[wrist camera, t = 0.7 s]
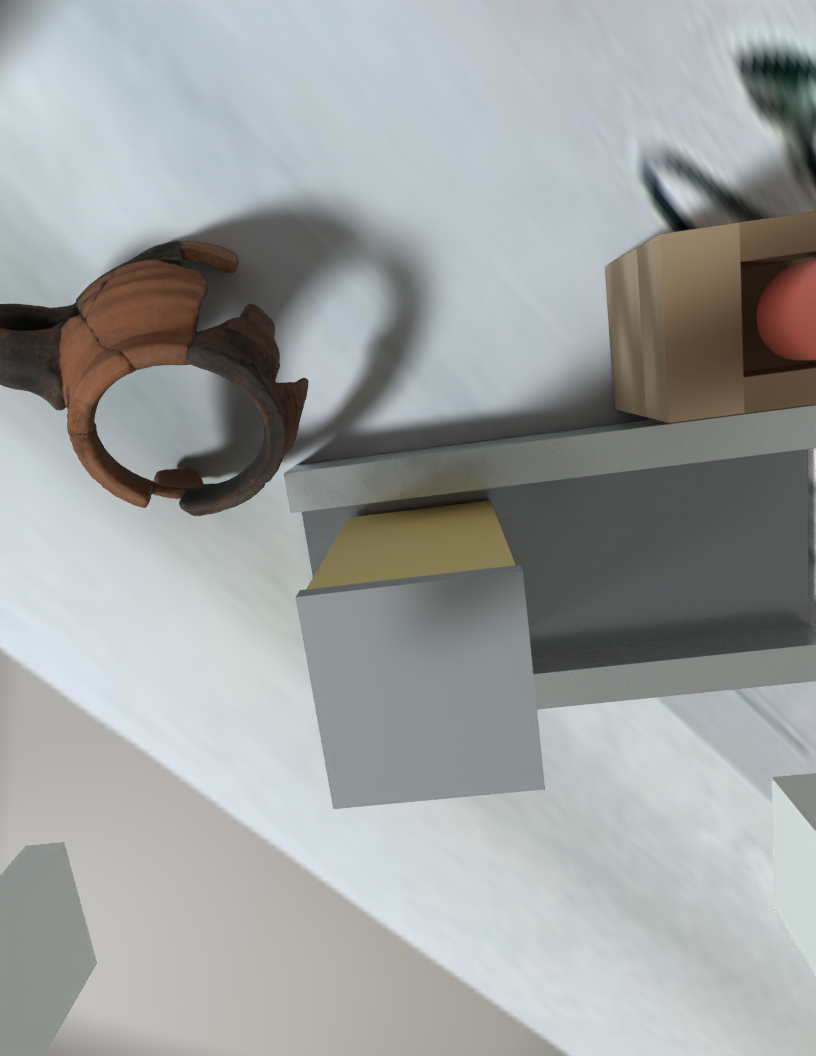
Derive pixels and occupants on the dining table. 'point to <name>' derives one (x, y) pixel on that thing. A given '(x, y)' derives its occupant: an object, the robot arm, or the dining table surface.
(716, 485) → the track
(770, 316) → the ball
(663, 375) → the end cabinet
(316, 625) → the carriage
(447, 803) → the dining table surface
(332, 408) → the dining table surface
